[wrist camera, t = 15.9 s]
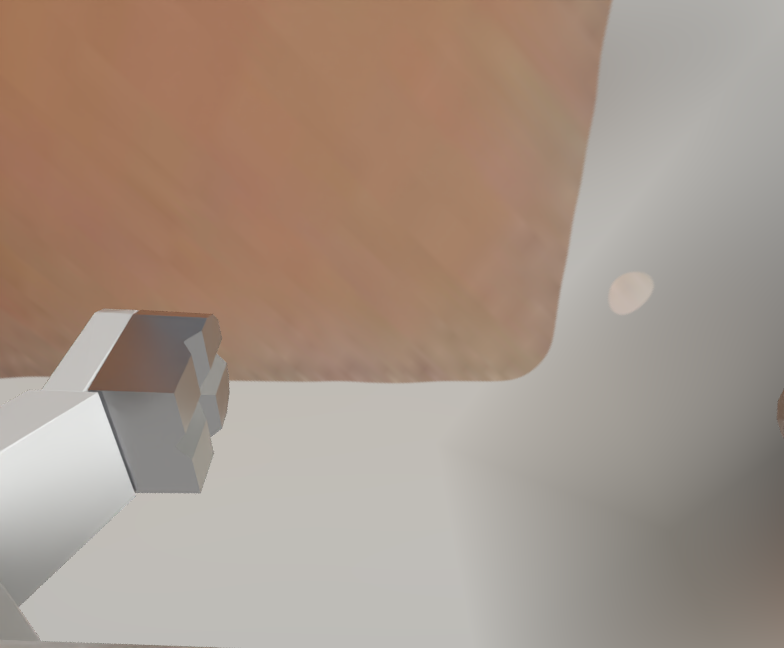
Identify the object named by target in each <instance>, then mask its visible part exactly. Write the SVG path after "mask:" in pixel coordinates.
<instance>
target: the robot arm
mask: <svg viewBox="0 0 784 648" xmlns="http://www.w3.org/2000/svg"><path fill="white" fill-rule="evenodd" d="M221 340H222V336H221V331H220V327H219V322H218V319H217V318H216V317H215V316H214V315H213V314H202V313H184V312H167V311H149V310H140V311H138V310H125V309H102V310H100V311H97V312H95V313H94V314H93V316H92V317H91V319H90V320H89V321H88V323H87V324H86V326H85V327H84V329H83V330H82V332H81V333H80V334H79V336H78V337H77V339H76V340H75V342H74V343H73V345H72V346H71V347H70V349H69V350H68V352H67V353H66V355H65V356H64V357H63V359H62V360H61V362H60V363H59V365H58V366H57V368H56V369H55V370H54V372H53V373H52V375H51V376H50V378H49V379H48V381H47V382H46V384H45V385H44V386H43V388H42V389H41V390H27V391H26V392H24V393H22V394H20V395H18V396H17V397H15V398H13V399H11V400H10V401H8V402H6V403H4V404H2V405H0V648H217V647H188V646H161V645H133V644H104V643H103V644H102V643H75V642H46V641H40V638H39V636H38V635H37V633H36V632H35V630H34V629H33V627H32V626H31V625H30V623H29V622H28V620H27V619H26V617H25V616H24V614H23V613H22V612H21V610H20V609H19V606H20V605H21V604H22V603H23V602H24V601H25V600H26V599H28V598H29V597H30V596H31V595H32V594H33V593H34V592H35V591H36V590H37V589H38V588H39V587H40V586H41V585H43V583H45V582H46V581H47V580H48V579H49V578H50V577H51V576H52V575H53V574H54V573H55V572H56V571H57V570H58V569H59V568H61V567H62V566H63V565H64V564H65V563H66V562H67V561H68V560H69V559H70V558H71V557H72V556H73V555H74V554H75V553H76V552H77V551H79V549H81V548H82V547H83V546H84V545H85V544H86V543H87V542H88V541H89V540H90V539H91V538H92V537H93V536H94V535H95V534H96V533H98V532H99V531H100V530H101V529H102V528H103V527H104V526H105V525H106V524H107V523H108V522H109V521H110V520H111V519H112V518H113V517H114V516H116V515H117V514H118V513H119V512H120V511H121V510H122V509H123V508H124V507H125V506H126V505H127V504H128V503H129V502H130V501H131V500H132V499H133V498H135V497H136V495H135V493H201V491H202V488H203V484H204V481H205V478H206V475H207V472H208V469H209V466H210V463H211V460H212V457H213V454H214V452H213V447H212V443H211V438H210V437H211V436H213V435H214V434H215V433H216V432H218V431H219V430H220V429H222V426H223V423H224V420H225V417H226V413H227V407H228V399H229V374H228V368H227V363H226V362H225V361H224V360H223V359H222V358H221V357H220V356H219V355H218V354H216V353H217V351H218V348H219V345H220V343H221ZM777 421H778V425H779V428H780V432H781V434H782V436H783V438H784V390H783V392H782V394H781V396H780V398H779V400H778V408H777Z"/></svg>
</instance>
